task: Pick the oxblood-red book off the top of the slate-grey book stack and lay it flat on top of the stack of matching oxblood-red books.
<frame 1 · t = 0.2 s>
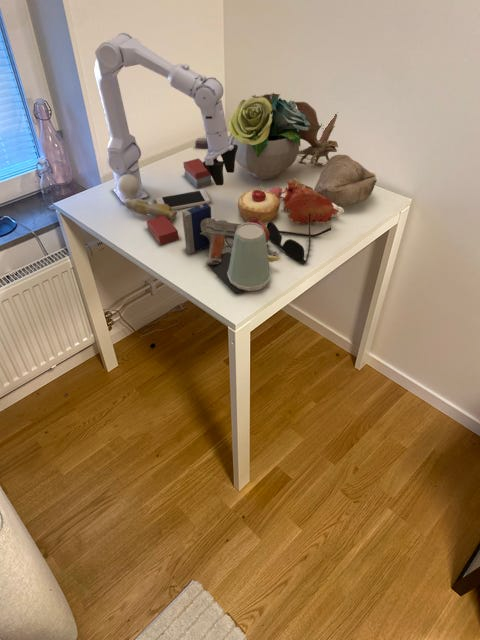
hand: (225, 178, 137), 10 cm above the table, tool pointing down, fingers open, 7 cm apart
flower arrangement: (264, 174, 160), on the table
dragon: (308, 166, 162), point 1 cm above the table
light bulb: (131, 209, 145), on the table, touching arm
handgun: (220, 154, 167), point 2 cm above the table
oxblood stack: (163, 234, 135), on the table
sunglasses: (300, 242, 132), on the table
disposable coffee cup: (250, 230, 109), point 16 cm above the table, touching fox, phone
smartphone: (183, 202, 148), on the table
fruit: (253, 250, 129), on the table
oxblood book: (197, 171, 155), point 3 cm above the table, touching grey stack
toy: (272, 249, 129), on the table
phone: (232, 274, 122), on the table, touching disposable coffee cup, pistol
stone: (220, 233, 135), on the table
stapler: (325, 201, 140), point 4 cm above the table, touching seashell 2
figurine: (150, 215, 141), point 1 cm above the table, touching oxblood stack
seashell 2: (281, 199, 135), point 7 cm above the table, touching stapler
grey stack: (198, 180, 158), on the table
pastry: (258, 215, 142), on the table
pistol: (233, 266, 128), on the table, touching cassette player, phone
cassette player: (199, 248, 130), on the table, touching pistol
fox: (256, 262, 121), point 3 cm above the table, touching disposable coffee cup
seashell: (341, 200, 148), on the table
figurine 2: (276, 208, 144), on the table
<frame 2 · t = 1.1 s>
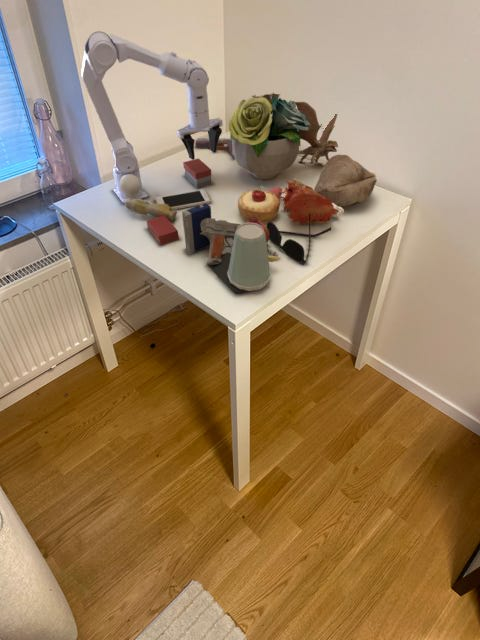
hand: (202, 154, 150), 10 cm above the table, tool pointing down, fingers open, 7 cm apart
nothing on the table moved.
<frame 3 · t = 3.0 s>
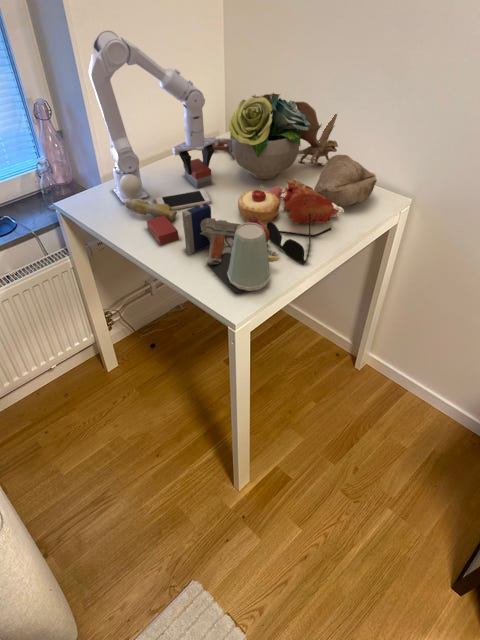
hand: (197, 171, 155), 3 cm above the table, tool pointing down, fingers closed on oxblood book, 5 cm apart
oxblood book: (197, 171, 155), point 3 cm above the table, touching grey stack, gripper
everything else where it was.
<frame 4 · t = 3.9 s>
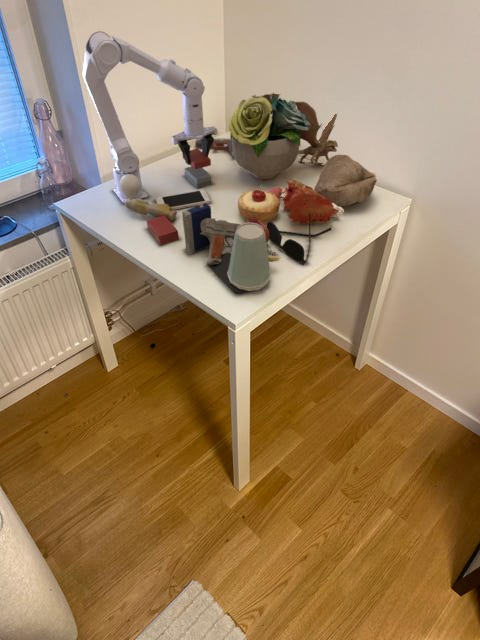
hand: (196, 161, 153), 7 cm above the table, tool pointing down, fingers closed on oxblood book, 5 cm apart
oxblood book: (196, 161, 153), point 6 cm above the table, touching gripper
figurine: (150, 215, 141), point 1 cm above the table, touching oxblood stack
everything else where it was.
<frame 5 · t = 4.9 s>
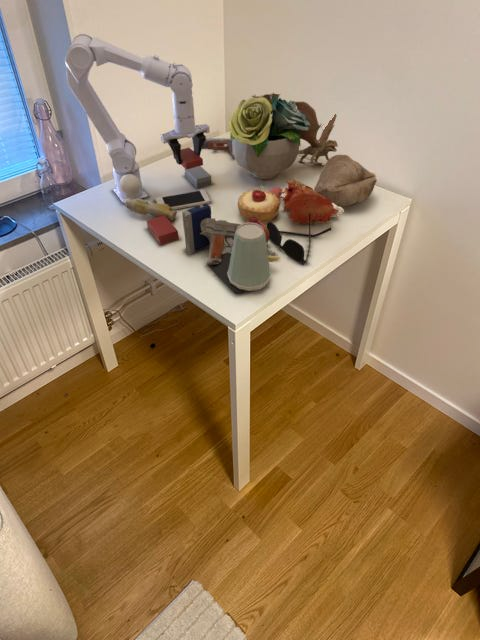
hand: (187, 160, 145), 10 cm above the table, tool pointing down, fingers closed on oxblood book, 5 cm apart
oxblood book: (188, 161, 145), point 10 cm above the table, touching gripper
everything else where it was.
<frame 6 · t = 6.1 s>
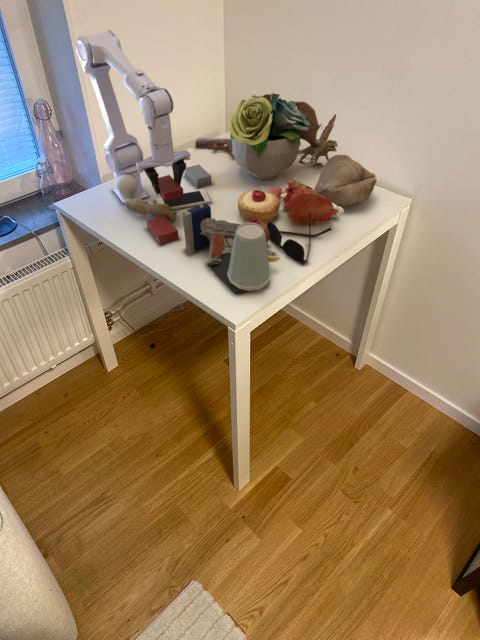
hand: (167, 189, 133), 10 cm above the table, tool pointing down, fingers closed on oxblood book, 5 cm apart
oxblood book: (167, 190, 133), point 10 cm above the table, touching gripper
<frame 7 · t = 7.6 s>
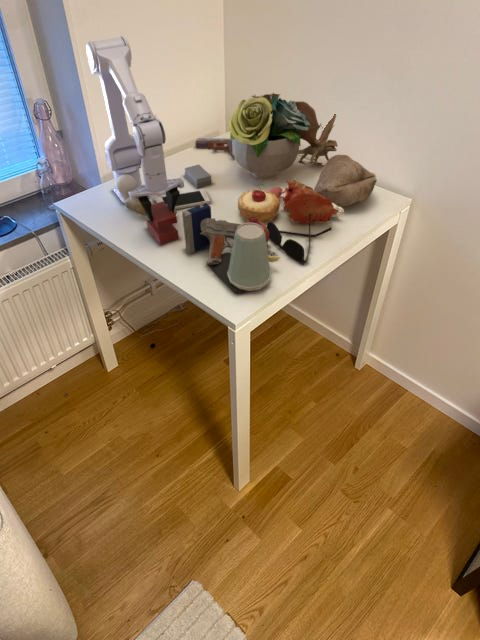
hand: (160, 217, 132), 6 cm above the table, tool pointing down, fingers closed on oxblood book, 5 cm apart
oxblood book: (161, 217, 132), point 5 cm above the table, touching gripper
everything else where it was.
when the fingers open (3 cm above the table, at t = 8.8 s): oxblood book stays where it is, resting on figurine, oxblood stack.
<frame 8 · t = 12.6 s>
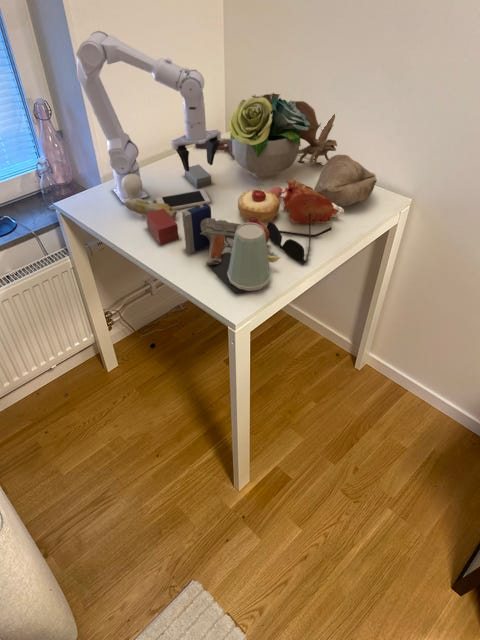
hand: (198, 166, 143), 10 cm above the table, tool pointing down, fingers open, 7 cm apart
oxblood book: (162, 225, 133), point 3 cm above the table, touching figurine, oxblood stack
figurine: (150, 215, 141), point 1 cm above the table, touching oxblood book, oxblood stack
at the end: oxblood book 0.1 cm off-centre on the oxblood stack, point 3.1 cm above the oxblood stack's base; oxblood book tilted 1°; the gripper is holding nothing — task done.
